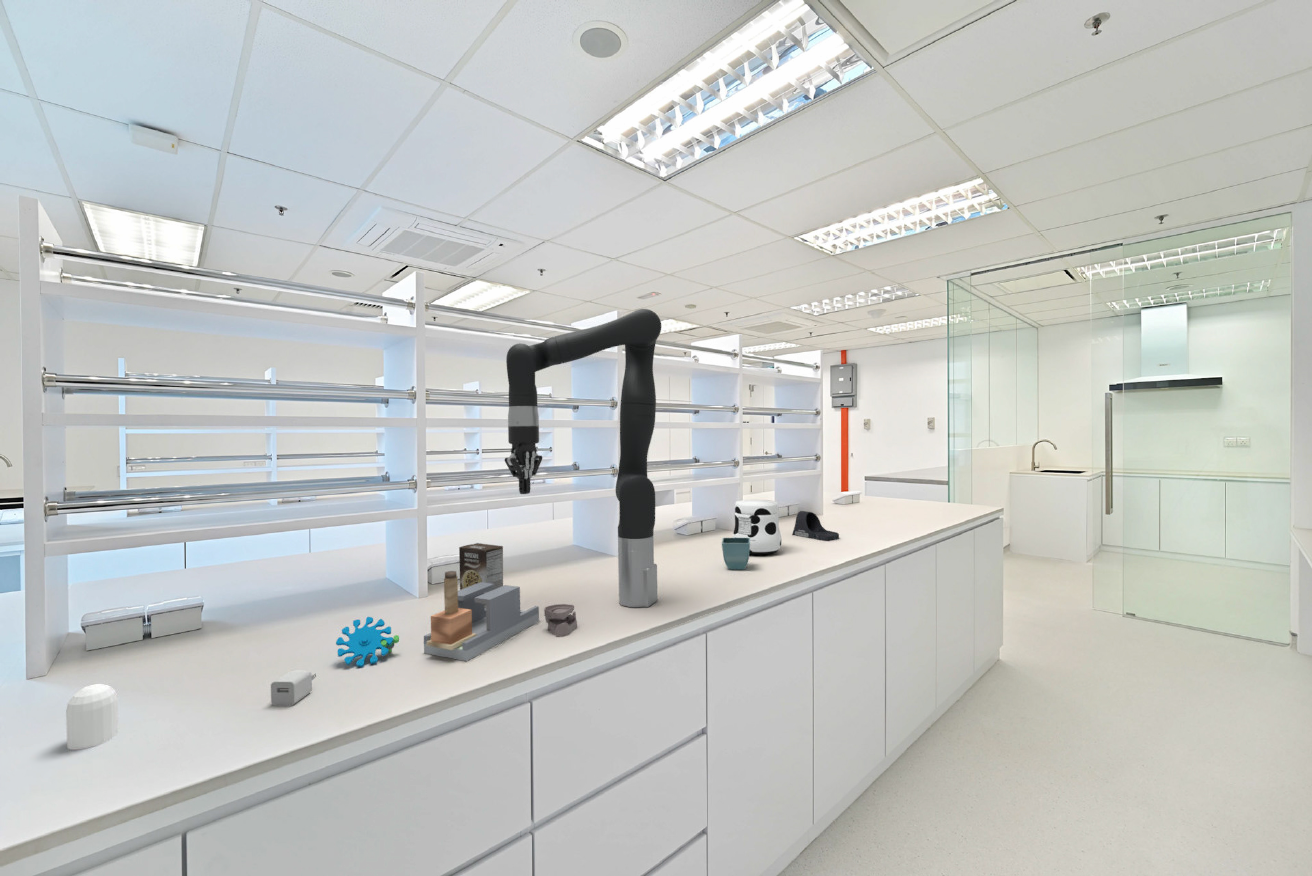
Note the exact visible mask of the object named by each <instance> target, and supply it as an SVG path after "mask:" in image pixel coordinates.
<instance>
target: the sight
mask: <svg viewBox="0 0 1312 876" xmlns="http://www.w3.org/2000/svg"><path fill="white" fill-rule="evenodd" d="M791 535H792V536H794V537H801V538H805V539H813V540H817V541H823V542H832V541H837V540H839V539H840V533H838V532H836V531H831V530H829V529H828V530H827V529H825V527H824V526H822V524H821V521H820V519H819V517H818V515H817V514H816V513H814V512H812V511H805V510H799V512H798V513H797V514H796V518H795V522H794V527H793V530H792V534H791Z"/></svg>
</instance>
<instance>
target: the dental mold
mask: <svg viewBox="0 0 1312 876" xmlns="http://www.w3.org/2000/svg"><path fill="white" fill-rule="evenodd" d="M543 611H544V617H545V621H546V623H547V630H546V632H549V633H550V634H551V635H553V636H555V637H556V638H562V637H565V636H568V635H570V634H572V633H573V631H575V630H577V628H578V624H577V613H576V611H575V605H574V604H567V603H560V604H556V603H555V604H553V605H552V604H551V605H548V606H547V605H546V606H545V607H544V609H543Z"/></svg>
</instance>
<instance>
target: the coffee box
mask: <svg viewBox="0 0 1312 876" xmlns="http://www.w3.org/2000/svg"><path fill="white" fill-rule="evenodd" d="M458 549H459V553H458V554H459V590H461V589H464V588H467V587H469V586H472V585H475V584H477V583H480V582H483V583H491V584H495V588H494V589H497V588H499V587H502V586H504V546H502V545H495V544H488V543H487V544H486V543H479V542H476V543H471V544H467V545H466V544H465V545H463V546H459V547H458ZM494 589H492V590H494ZM492 590H489V591H487V592H490V591H492ZM487 592H484V594H485V593H487ZM484 606H485V608H486V604H484Z"/></svg>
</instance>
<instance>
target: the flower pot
mask: <svg viewBox="0 0 1312 876" xmlns="http://www.w3.org/2000/svg"><path fill="white" fill-rule="evenodd" d="M721 548H722V557H723V560H724V563H725V565H726V567H727V569H728V570H739V571H740V570H744V571H745V570H746V568H747V566H748V564H749V559H750V554H749V551H750V538H733V537H723V538H722V540H721Z"/></svg>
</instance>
